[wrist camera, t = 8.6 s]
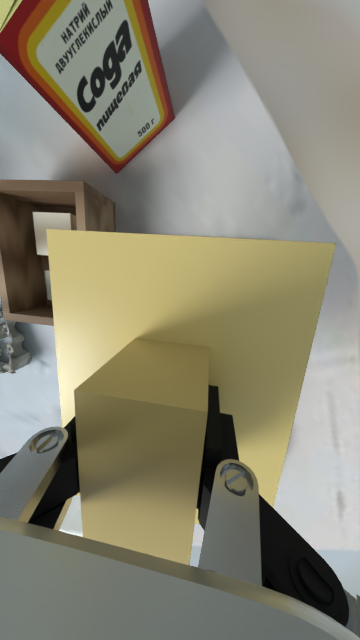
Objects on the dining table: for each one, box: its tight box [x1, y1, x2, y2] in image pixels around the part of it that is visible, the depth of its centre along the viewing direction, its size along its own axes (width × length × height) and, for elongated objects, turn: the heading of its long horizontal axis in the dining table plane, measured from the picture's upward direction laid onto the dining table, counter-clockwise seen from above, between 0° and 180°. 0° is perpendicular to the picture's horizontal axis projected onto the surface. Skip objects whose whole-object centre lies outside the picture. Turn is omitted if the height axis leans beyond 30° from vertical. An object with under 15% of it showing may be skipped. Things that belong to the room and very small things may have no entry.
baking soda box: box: [0, 0, 175, 174], centre depth 17 cm, size 10×6×16 cm
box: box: [0, 180, 115, 326], centre depth 27 cm, size 16×12×7 cm
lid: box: [46, 229, 336, 565], centre depth 10 cm, size 18×14×8 cm
